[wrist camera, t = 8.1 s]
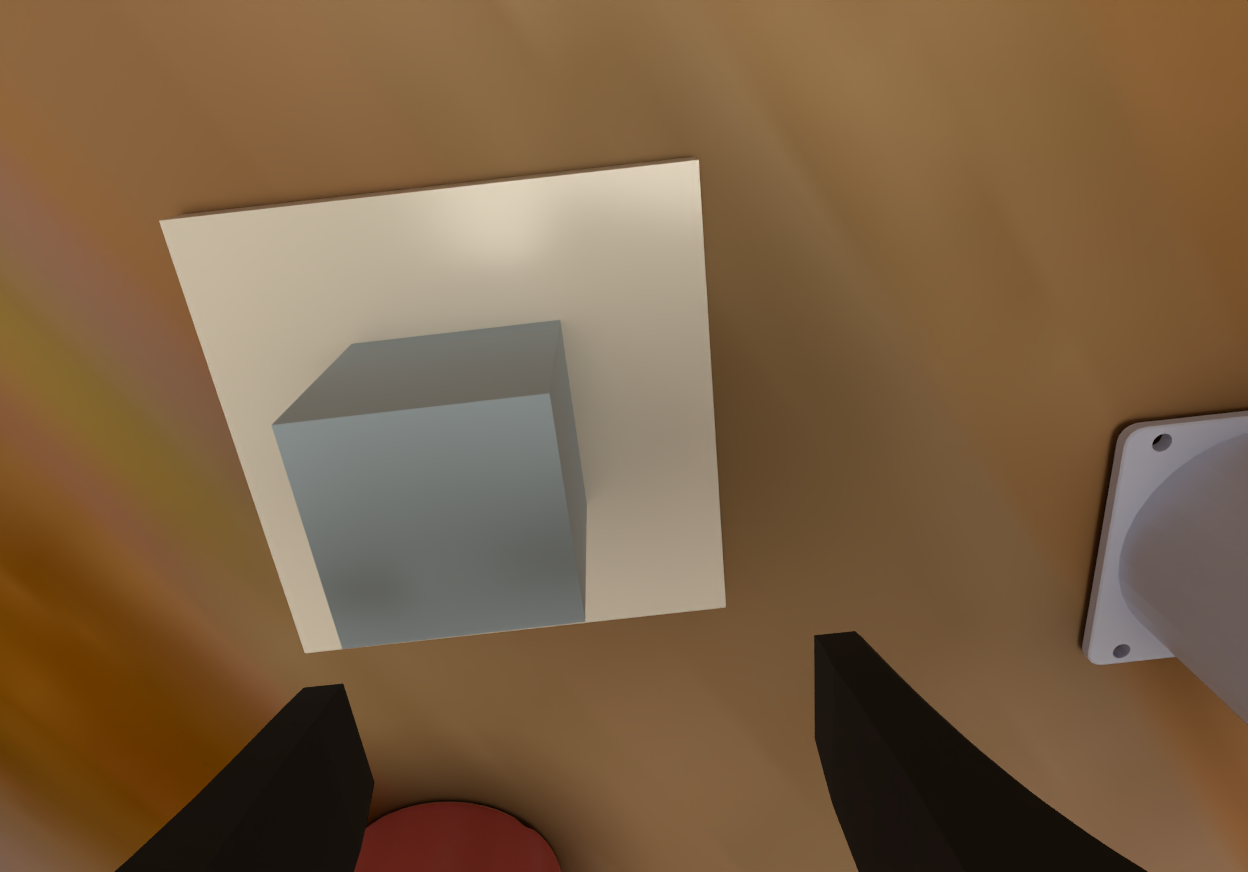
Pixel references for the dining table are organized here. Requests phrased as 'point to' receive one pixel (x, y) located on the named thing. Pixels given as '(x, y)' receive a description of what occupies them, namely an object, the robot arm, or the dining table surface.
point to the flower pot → (453, 841)
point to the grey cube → (442, 485)
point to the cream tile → (477, 299)
